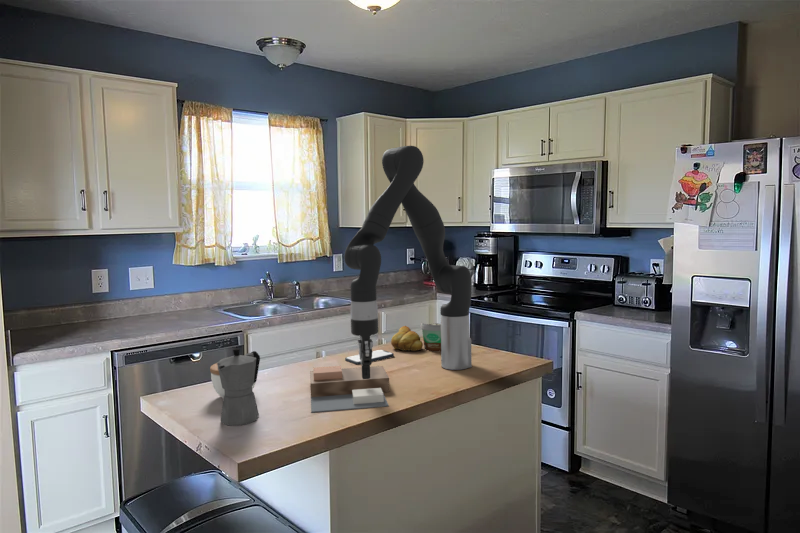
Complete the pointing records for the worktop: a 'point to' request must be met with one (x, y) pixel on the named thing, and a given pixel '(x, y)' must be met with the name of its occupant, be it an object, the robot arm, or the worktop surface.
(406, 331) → the bread roll
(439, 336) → the food container
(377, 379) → the walnut board
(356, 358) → the phone case
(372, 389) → the tile cream
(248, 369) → the coffeepot
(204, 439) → the worktop surface
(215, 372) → the lidded bowl
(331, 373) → the tile terracotta
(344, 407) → the rubber mat
